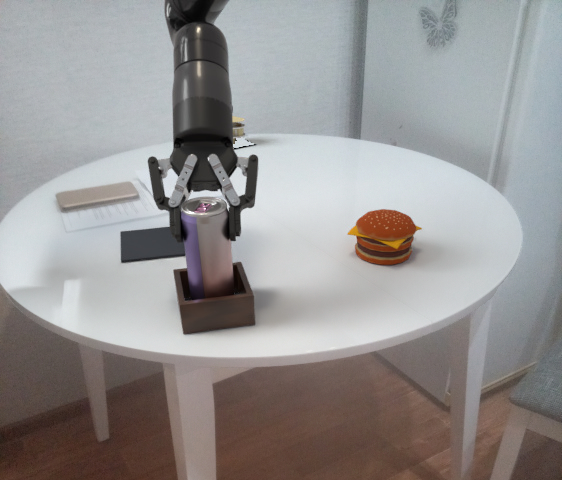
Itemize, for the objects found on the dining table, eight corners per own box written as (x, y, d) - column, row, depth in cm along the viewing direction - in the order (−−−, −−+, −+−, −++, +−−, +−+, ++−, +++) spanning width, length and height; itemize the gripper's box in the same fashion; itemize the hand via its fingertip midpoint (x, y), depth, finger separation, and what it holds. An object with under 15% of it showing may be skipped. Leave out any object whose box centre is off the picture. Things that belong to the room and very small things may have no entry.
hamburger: (343, 256, 90) (346, 217, 86) (371, 235, 96) (374, 197, 92) (397, 272, 86) (402, 231, 81) (422, 249, 92) (428, 210, 88)
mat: (121, 262, 89) (120, 260, 88) (120, 233, 97) (120, 231, 97) (190, 255, 90) (190, 252, 90) (184, 227, 99) (184, 225, 99)
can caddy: (183, 334, 73) (179, 305, 70) (177, 297, 80) (173, 269, 77) (255, 324, 75) (254, 295, 72) (242, 289, 82) (241, 261, 79)
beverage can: (186, 318, 76) (171, 212, 66) (201, 296, 80) (189, 193, 71) (227, 323, 75) (219, 217, 65) (240, 301, 79) (234, 198, 70)
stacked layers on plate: (221, 152, 131) (219, 127, 127) (203, 142, 137) (201, 118, 133) (257, 144, 135) (256, 120, 132) (238, 135, 141) (237, 112, 138)
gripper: (139, 94, 67) (141, 230, 65) (259, 92, 67) (264, 227, 66) (151, 128, 74) (153, 251, 73) (259, 126, 75) (264, 248, 73)
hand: (206, 239), depth 69 cm, fingers closed on beverage can, 6 cm apart
